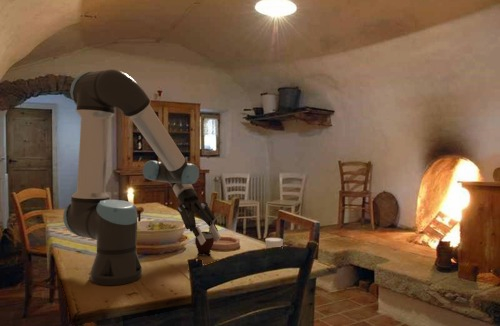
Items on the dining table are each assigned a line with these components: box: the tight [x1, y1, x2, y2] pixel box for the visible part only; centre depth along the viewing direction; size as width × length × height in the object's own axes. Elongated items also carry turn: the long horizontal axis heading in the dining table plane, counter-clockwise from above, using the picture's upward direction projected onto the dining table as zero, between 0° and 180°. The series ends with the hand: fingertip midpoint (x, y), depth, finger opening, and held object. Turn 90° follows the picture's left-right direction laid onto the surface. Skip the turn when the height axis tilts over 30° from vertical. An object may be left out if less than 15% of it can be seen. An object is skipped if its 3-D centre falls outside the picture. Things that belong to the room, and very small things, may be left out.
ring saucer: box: [211, 235, 241, 251], centre depth 161 cm, size 14×14×2 cm
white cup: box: [265, 237, 284, 249], centre depth 145 cm, size 7×7×7 cm
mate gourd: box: [194, 214, 221, 256], centre depth 146 cm, size 8×8×15 cm
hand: (211, 241), depth 144 cm, fingers closed on mate gourd, 7 cm apart
